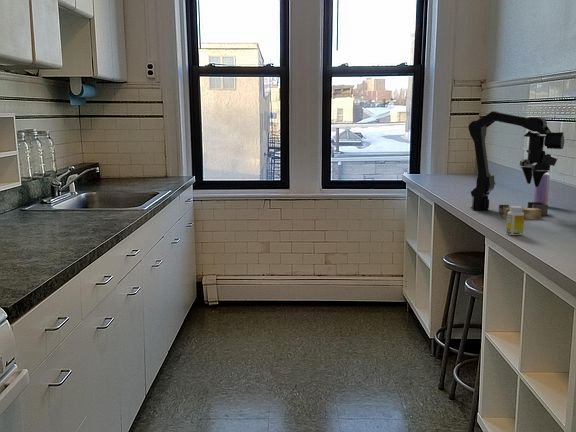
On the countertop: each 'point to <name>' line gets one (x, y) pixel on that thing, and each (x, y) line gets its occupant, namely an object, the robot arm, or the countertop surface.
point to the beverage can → (542, 189)
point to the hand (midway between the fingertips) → (532, 185)
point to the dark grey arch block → (502, 208)
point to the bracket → (539, 207)
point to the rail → (526, 213)
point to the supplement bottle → (515, 221)
